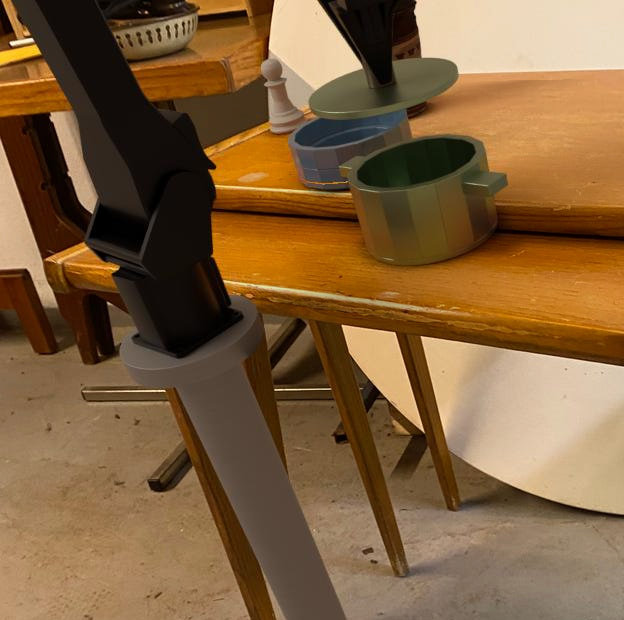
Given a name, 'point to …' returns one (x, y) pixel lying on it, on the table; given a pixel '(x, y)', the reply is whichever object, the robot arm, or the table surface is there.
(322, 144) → the pan
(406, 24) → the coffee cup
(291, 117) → the chess piece
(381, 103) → the lid
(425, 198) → the pot
